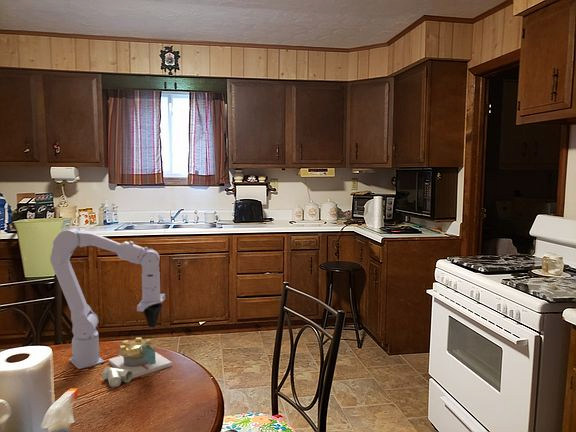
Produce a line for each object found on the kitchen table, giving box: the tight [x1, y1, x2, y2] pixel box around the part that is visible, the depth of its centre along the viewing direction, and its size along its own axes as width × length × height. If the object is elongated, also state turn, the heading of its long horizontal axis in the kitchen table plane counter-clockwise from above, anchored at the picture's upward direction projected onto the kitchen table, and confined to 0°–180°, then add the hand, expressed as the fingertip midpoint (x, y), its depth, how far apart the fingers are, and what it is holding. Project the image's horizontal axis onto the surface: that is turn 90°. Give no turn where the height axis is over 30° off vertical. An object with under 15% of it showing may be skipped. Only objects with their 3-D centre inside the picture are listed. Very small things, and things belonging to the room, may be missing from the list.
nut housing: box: [108, 351, 173, 379], centre depth 146 cm, size 16×14×4 cm
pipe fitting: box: [101, 366, 133, 388], centre depth 133 cm, size 8×4×7 cm
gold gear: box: [119, 337, 156, 365], centre depth 142 cm, size 18×10×4 cm, turn 39°
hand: (152, 326), depth 151 cm, fingers closed
